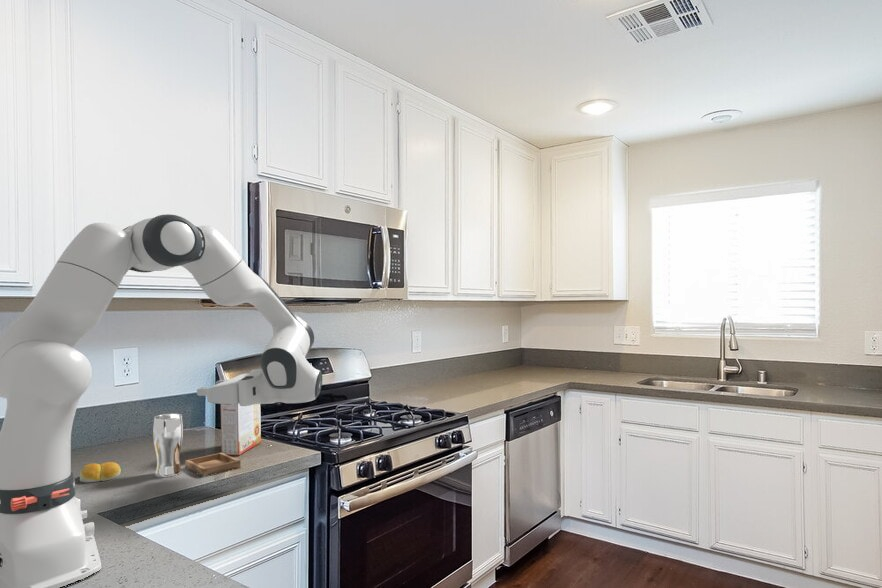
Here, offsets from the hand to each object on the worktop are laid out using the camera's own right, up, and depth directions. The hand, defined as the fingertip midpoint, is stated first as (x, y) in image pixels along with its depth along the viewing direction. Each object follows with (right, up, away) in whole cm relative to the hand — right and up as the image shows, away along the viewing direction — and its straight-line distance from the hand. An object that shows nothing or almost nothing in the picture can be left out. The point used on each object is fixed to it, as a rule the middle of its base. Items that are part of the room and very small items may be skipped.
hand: (207, 387), depth 145 cm
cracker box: (0, -23, +24) cm, 33 cm away
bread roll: (-27, -23, -2) cm, 36 cm away
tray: (-1, -23, +6) cm, 23 cm away
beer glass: (-11, -23, +1) cm, 25 cm away
